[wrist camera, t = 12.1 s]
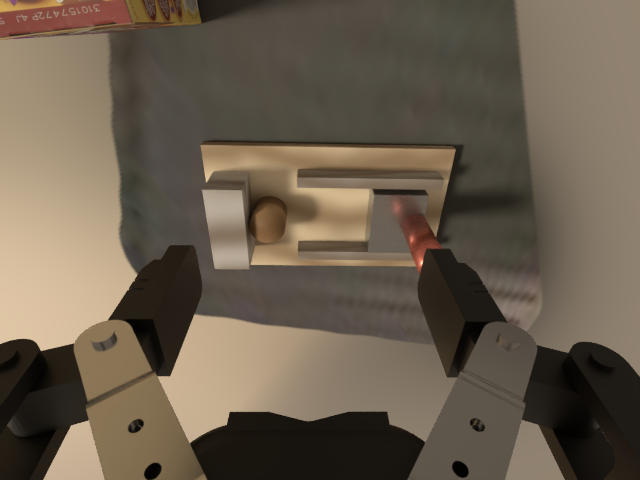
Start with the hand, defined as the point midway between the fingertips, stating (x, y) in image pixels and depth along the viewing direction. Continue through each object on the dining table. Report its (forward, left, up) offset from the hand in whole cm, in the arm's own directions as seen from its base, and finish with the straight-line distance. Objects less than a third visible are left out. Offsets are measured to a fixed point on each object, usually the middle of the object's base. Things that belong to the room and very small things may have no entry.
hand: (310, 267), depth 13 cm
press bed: (+13, +2, -30) cm, 33 cm away
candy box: (-8, -15, -30) cm, 35 cm away
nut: (+13, -5, -29) cm, 32 cm away
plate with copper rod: (+13, +10, -29) cm, 33 cm away
